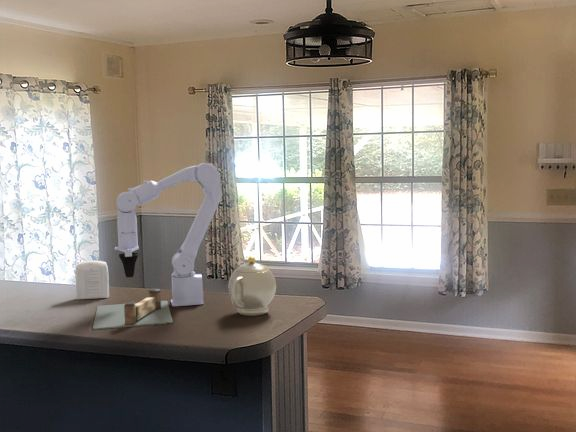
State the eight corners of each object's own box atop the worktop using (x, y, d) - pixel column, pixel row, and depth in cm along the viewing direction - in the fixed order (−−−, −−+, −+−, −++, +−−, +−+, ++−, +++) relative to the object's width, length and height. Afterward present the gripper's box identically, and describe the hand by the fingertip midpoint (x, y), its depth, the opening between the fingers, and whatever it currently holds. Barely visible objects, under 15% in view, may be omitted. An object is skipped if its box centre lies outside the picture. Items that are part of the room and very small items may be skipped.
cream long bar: (149, 308, 191) (148, 296, 191) (155, 308, 191) (155, 296, 190) (130, 319, 178) (130, 306, 178) (137, 319, 178) (137, 307, 178)
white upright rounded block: (109, 295, 215) (107, 258, 214) (109, 298, 211) (107, 260, 210) (77, 297, 213) (75, 260, 212) (76, 300, 209) (74, 262, 207)
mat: (167, 301, 204) (167, 300, 204) (172, 323, 178) (172, 321, 178) (97, 307, 199) (97, 305, 199) (92, 329, 173) (92, 328, 173)
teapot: (247, 305, 197) (245, 251, 195) (286, 309, 190) (285, 253, 188) (212, 318, 181) (210, 260, 180) (253, 324, 174) (251, 263, 173)
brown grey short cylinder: (161, 308, 195) (160, 288, 195) (161, 310, 192) (160, 290, 191) (149, 309, 194) (148, 289, 194) (149, 311, 191) (148, 291, 190)
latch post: (136, 323, 178) (135, 301, 178) (136, 326, 175) (135, 303, 175) (125, 324, 178) (123, 302, 177) (125, 327, 175) (123, 304, 174)
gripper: (114, 230, 201) (116, 273, 202) (113, 235, 187) (115, 282, 188) (137, 229, 203) (139, 272, 204) (138, 234, 189) (140, 280, 190)
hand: (129, 276), depth 196 cm, fingers closed
